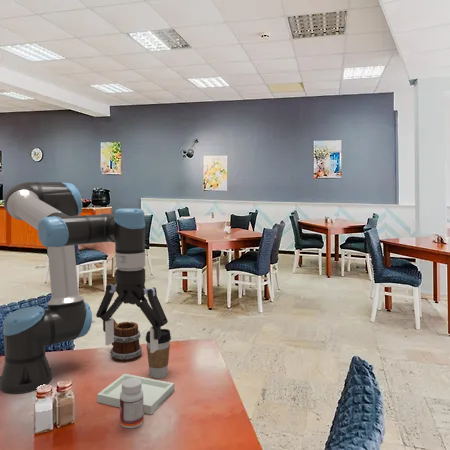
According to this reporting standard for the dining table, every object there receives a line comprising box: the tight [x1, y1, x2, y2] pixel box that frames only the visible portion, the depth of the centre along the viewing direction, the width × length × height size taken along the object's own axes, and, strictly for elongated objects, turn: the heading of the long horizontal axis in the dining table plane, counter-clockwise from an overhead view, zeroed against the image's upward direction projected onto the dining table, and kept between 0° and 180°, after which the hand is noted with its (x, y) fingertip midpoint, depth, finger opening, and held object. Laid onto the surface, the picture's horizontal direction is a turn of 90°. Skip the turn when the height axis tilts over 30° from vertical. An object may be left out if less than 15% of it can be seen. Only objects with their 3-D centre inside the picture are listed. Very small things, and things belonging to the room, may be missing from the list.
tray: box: [96, 373, 175, 415], centre depth 121 cm, size 18×14×2 cm
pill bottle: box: [119, 378, 144, 429], centre depth 108 cm, size 6×6×11 cm
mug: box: [109, 317, 143, 363], centre depth 150 cm, size 12×14×15 cm
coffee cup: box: [145, 328, 172, 379], centre depth 135 cm, size 8×8×15 cm
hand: (131, 347), depth 106 cm, fingers open, 13 cm apart
